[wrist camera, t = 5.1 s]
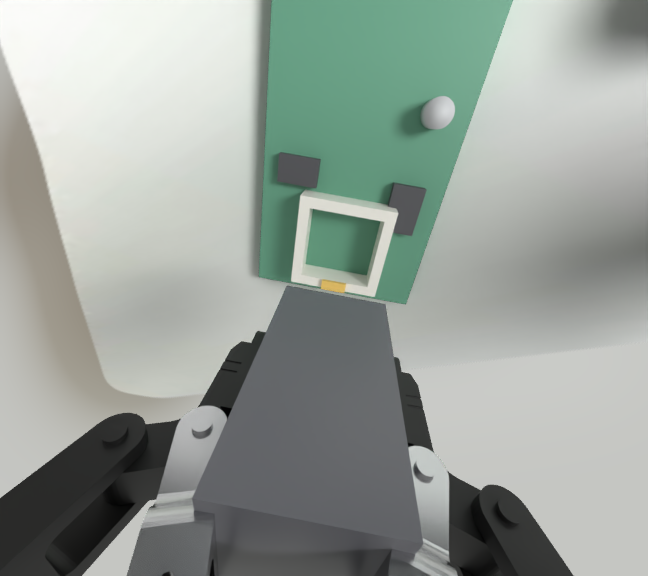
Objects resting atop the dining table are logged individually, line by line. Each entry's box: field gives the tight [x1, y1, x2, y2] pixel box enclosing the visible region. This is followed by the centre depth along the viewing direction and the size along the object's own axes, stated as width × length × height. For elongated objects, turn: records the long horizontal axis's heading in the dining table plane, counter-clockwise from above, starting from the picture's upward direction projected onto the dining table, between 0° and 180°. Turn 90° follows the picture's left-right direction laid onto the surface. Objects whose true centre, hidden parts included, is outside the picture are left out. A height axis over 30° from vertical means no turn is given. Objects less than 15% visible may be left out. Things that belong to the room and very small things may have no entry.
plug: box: [192, 286, 423, 576], centre depth 10 cm, size 4×4×8 cm
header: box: [291, 190, 398, 297], centre depth 23 cm, size 7×7×2 cm
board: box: [259, 0, 513, 304], centre depth 21 cm, size 14×24×3 cm, turn 171°
